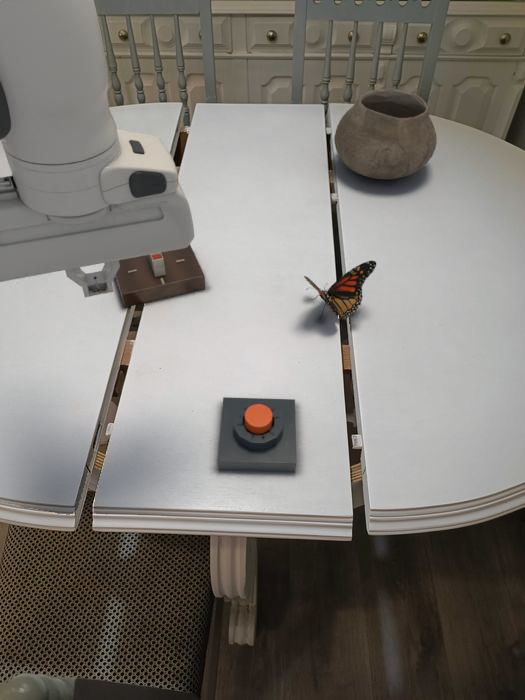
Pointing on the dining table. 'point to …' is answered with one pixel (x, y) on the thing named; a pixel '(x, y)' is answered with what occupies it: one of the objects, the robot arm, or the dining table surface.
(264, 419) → the orange button
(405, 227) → the dining table surface
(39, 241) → the robot arm
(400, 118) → the clay pot
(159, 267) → the dial knob
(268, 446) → the button box
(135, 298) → the dial panel
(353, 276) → the butterfly
